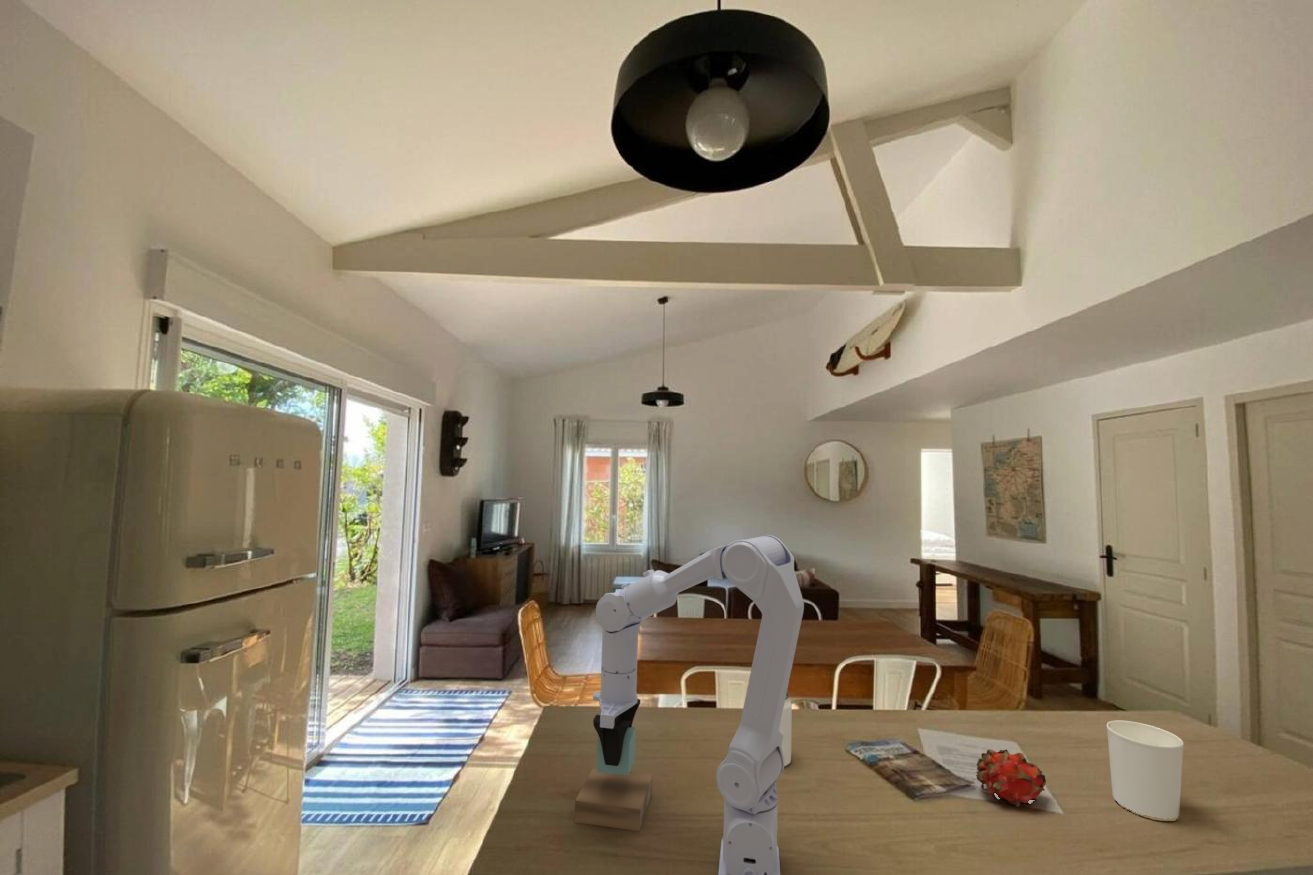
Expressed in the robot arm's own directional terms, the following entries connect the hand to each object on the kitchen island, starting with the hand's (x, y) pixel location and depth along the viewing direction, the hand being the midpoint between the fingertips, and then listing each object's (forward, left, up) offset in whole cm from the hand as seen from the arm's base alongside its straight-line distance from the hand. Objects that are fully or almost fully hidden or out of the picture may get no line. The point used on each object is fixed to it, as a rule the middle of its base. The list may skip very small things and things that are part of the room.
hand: (616, 755), depth 92 cm
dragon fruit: (+17, -64, -8) cm, 67 cm away
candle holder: (+19, -85, -8) cm, 87 cm away
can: (+21, -25, -8) cm, 34 cm away
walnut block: (0, 0, -8) cm, 8 cm away
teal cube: (0, 0, -2) cm, 2 cm away
